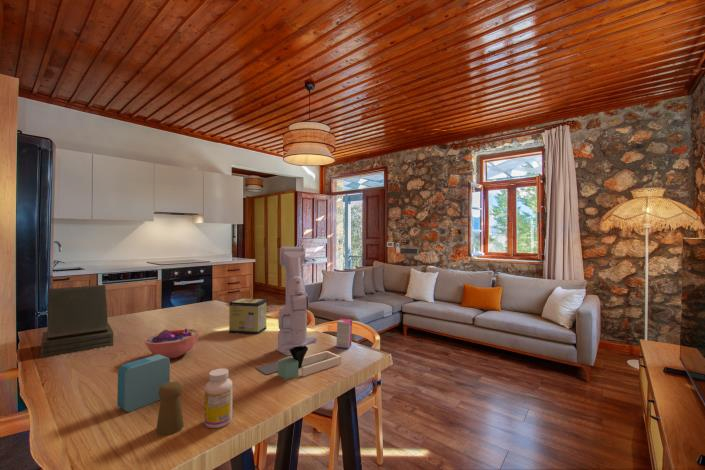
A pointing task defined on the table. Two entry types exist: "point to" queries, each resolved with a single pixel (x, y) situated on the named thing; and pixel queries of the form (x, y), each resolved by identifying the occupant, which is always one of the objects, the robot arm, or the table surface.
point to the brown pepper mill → (170, 409)
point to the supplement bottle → (218, 399)
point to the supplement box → (344, 333)
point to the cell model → (172, 342)
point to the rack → (330, 362)
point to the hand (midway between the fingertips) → (298, 367)
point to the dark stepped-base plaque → (76, 321)
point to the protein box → (247, 316)
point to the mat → (268, 368)
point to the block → (288, 368)
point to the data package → (142, 381)
